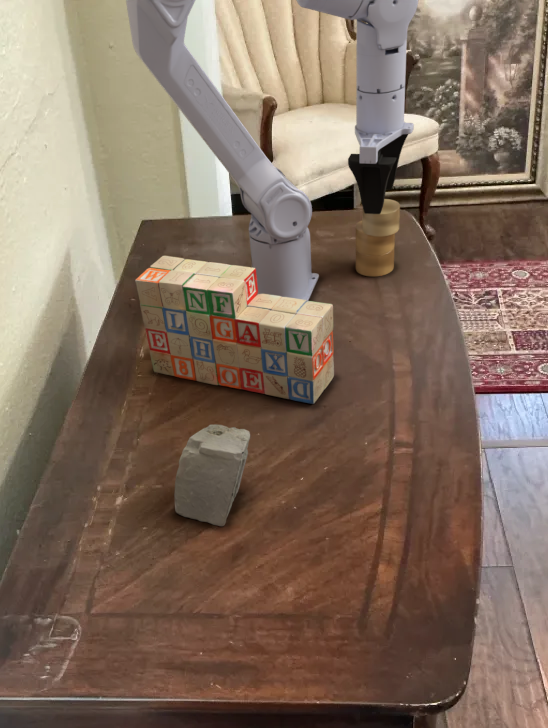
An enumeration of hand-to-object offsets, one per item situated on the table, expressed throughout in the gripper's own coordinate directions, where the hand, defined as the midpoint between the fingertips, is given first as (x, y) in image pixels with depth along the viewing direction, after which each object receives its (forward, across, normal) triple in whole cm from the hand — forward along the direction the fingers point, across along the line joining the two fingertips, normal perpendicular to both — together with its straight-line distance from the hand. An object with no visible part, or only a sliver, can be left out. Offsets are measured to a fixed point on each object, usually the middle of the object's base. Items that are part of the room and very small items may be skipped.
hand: (378, 200), depth 111 cm
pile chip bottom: (+10, +1, +1) cm, 10 cm away
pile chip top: (+7, +1, +1) cm, 7 cm away
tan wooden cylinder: (+4, 0, 0) cm, 4 cm away
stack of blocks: (+10, -28, +11) cm, 31 cm away
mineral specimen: (+10, -50, +6) cm, 51 cm away
